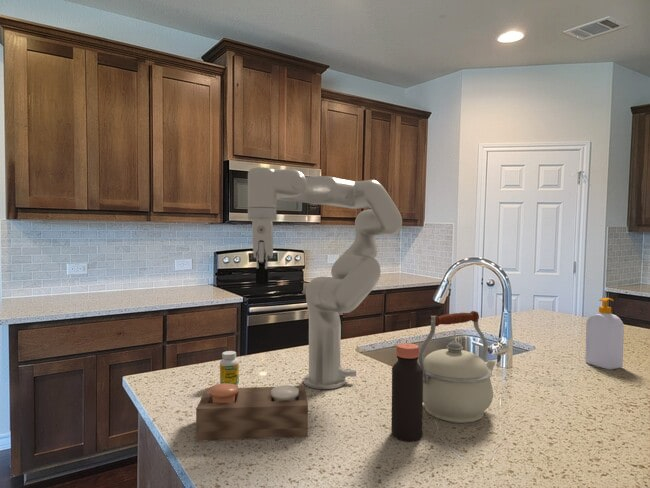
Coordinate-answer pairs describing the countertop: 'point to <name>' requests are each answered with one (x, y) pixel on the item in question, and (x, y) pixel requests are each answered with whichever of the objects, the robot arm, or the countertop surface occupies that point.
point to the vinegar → (407, 394)
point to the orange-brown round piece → (223, 393)
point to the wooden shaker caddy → (252, 416)
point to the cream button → (285, 393)
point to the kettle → (456, 376)
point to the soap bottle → (604, 338)
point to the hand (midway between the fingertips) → (262, 284)
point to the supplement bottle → (229, 368)
